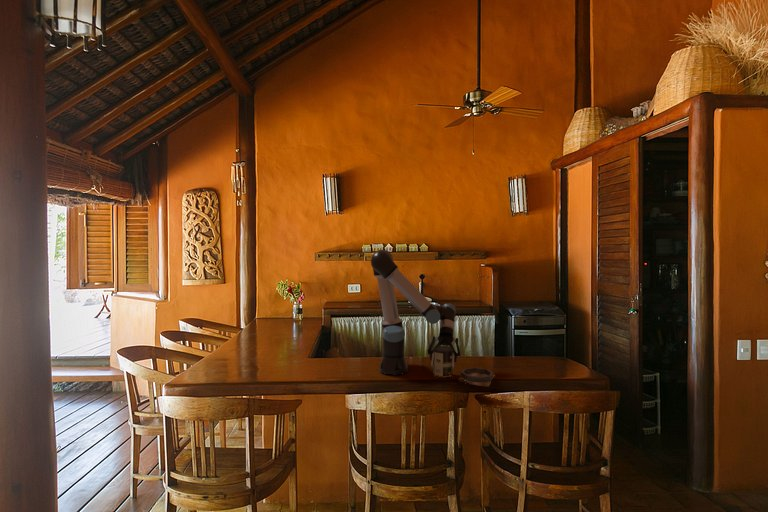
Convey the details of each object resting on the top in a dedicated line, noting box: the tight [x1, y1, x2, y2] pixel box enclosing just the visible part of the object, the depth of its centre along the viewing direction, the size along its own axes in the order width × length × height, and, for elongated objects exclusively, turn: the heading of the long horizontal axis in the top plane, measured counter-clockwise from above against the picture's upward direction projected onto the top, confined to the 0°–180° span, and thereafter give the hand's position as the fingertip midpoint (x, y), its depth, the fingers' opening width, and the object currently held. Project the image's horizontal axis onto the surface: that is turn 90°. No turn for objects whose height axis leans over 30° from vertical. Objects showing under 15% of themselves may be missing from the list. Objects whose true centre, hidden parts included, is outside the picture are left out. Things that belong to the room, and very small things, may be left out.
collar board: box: [459, 366, 496, 388], centre depth 241 cm, size 15×15×4 cm
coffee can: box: [432, 345, 454, 376], centre depth 248 cm, size 10×10×14 cm
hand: (442, 366), depth 246 cm, fingers closed on coffee can, 10 cm apart
